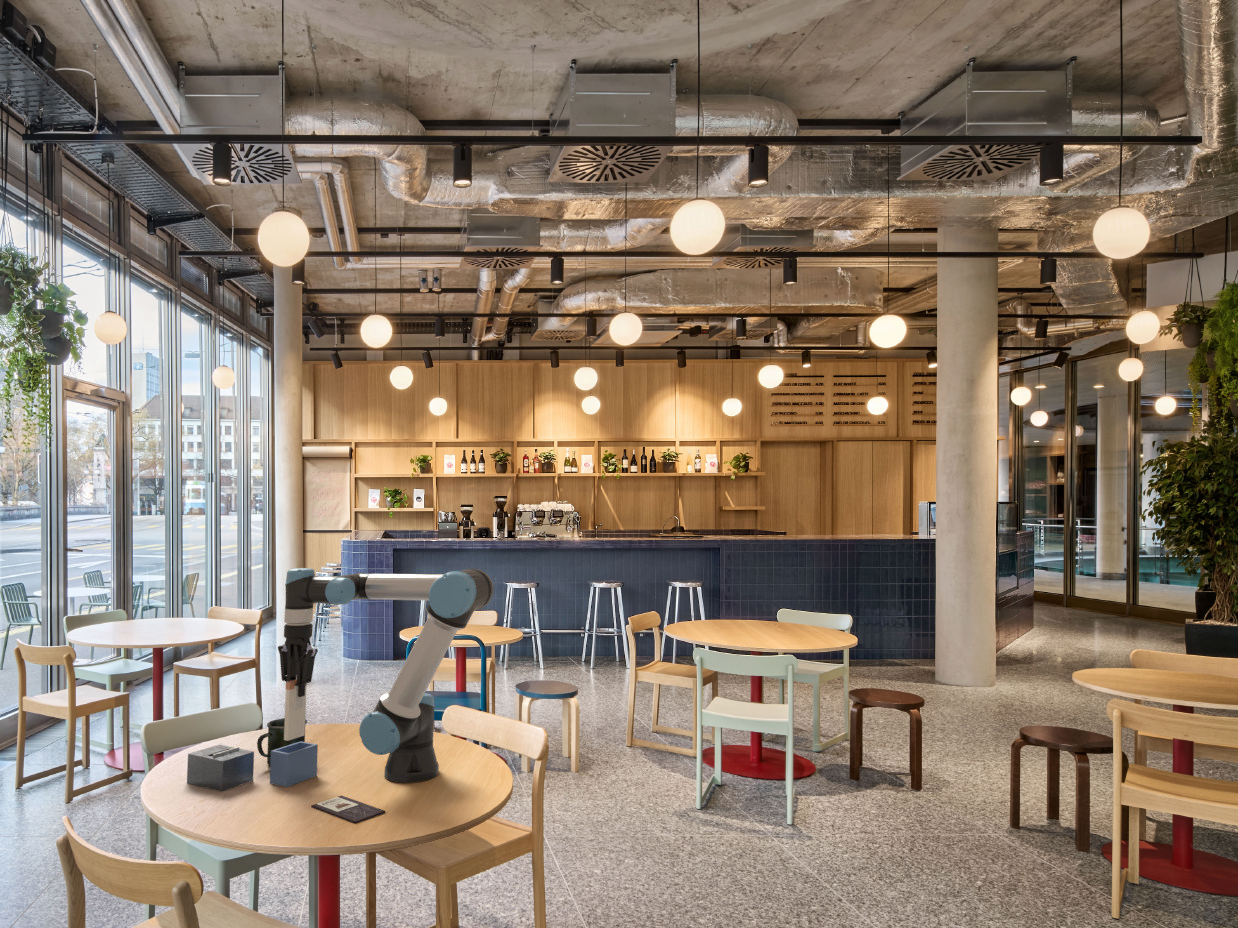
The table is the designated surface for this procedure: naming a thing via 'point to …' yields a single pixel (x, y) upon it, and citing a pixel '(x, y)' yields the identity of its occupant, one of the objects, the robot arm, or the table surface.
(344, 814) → the chocolate bar
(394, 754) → the robot arm
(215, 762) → the dispenser
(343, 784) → the table surface
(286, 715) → the ticket
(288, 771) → the blue open box
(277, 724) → the mug
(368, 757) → the table surface
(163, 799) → the table surface
